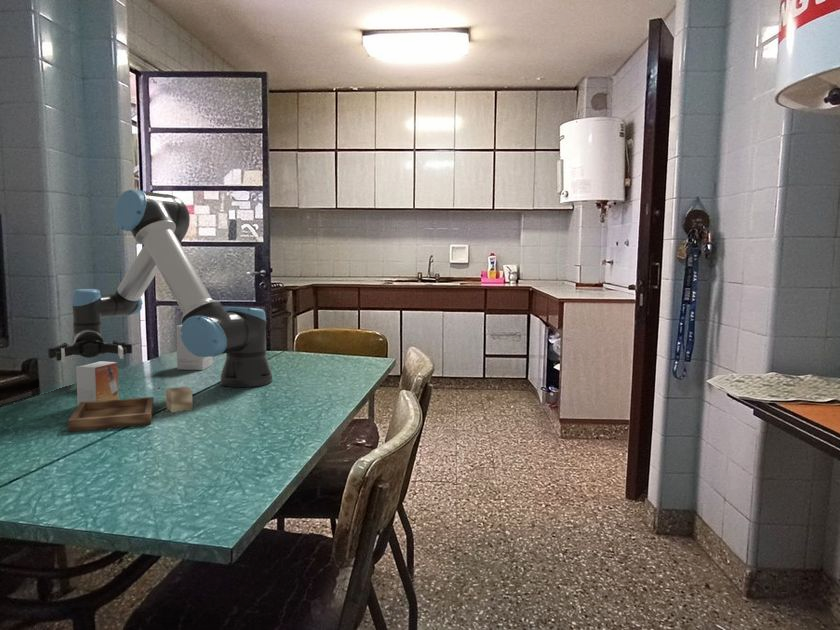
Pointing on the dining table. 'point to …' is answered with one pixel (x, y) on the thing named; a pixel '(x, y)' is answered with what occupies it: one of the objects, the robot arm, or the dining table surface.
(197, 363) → the supplement box
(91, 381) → the small box
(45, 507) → the dining table surface
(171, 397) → the beech block
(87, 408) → the tray
